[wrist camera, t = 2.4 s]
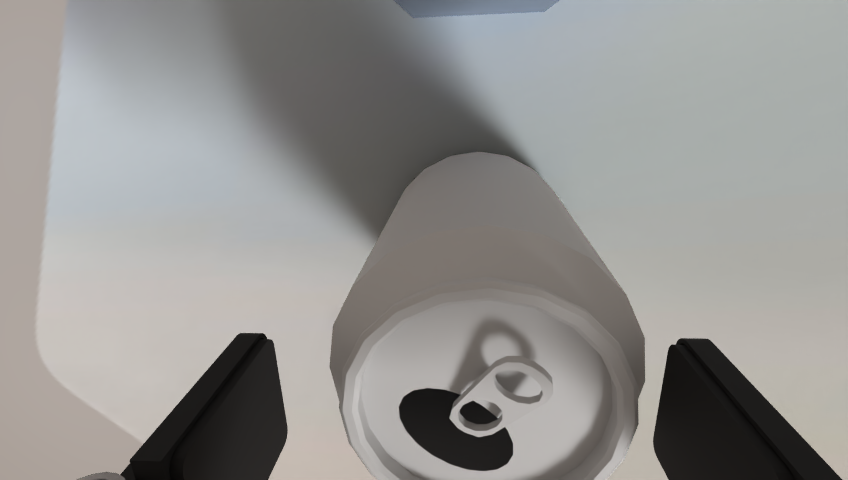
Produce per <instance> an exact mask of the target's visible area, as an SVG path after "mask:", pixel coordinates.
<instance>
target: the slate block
mask: <svg viewBox="0 0 848 480" xmlns="http://www.w3.org/2000/svg"><path fill="white" fill-rule="evenodd" d="M394 1H395V2H396V3H397V4H399V5H400V6H401V7H402V8H403V9H404V10H405V11H406V12H407V13H408V14H410V15H411V16H412V17H413V18H419V17H440V16H462V15H483V14H504V13H526V12H545V11H546V10H547V9H549V8H550V7H551V6H552V5H554V4H555V3H556V2H558V1H559V0H394Z"/></svg>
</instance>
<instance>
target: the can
mask: <svg viewBox="0 0 848 480" xmlns="http://www.w3.org/2000/svg"><path fill="white" fill-rule="evenodd" d="M330 369H331V373H332V376H333V380H334V384H335V387H336V391H337V394H338V398H339V401H340V402H339V409H340V413H341V416H342V420H343V424H344V427H345V431H346V434H347V438H348V441H349V444H350V445H351V447H352V448H353V449H354V451H355V452H356V454H357V455H358V457H359V458H360V459H361V461H362V462H363V464H364V465H365V467H366V468H367V470H368V471H369V472H370V474H371V475H373V476H374V477H375V478H376V479H378V480H606V479H607V478H608V477H609V476H610V475H611V474H612V473H613V472H614V471H615V469H616V468H617V467H618V466H619V465H620V464H621V463H622V462H623V461H624V459H625V456H626V454H627V451H628V449H629V446H630V444H631V441H632V439H633V436H634V434H635V431H636V429H637V426H638V398H639V395H640V393H641V390H642V388H643V385H644V382H645V338H644V335H643V333H642V331H641V328H640V326H639V324H638V321H637V319H636V316H635V314H634V312H633V309H632V307H631V305H630V302H629V300H628V298H627V295H626V294H625V292H624V291H623V289H622V288H621V287H620V285H619V284H618V282H617V281H616V279H615V278H614V277H613V275H612V274H611V272H610V271H609V269H608V268H607V267H606V265H605V264H604V262H603V261H602V259H601V258H600V257H599V255H598V254H597V252H596V251H595V249H594V248H593V247H592V245H591V244H590V242H589V241H588V239H587V238H586V237H585V235H584V234H583V232H582V231H581V229H580V228H579V226H578V225H577V224H576V222H575V221H574V219H573V218H572V216H571V215H570V214H569V212H568V211H567V209H566V208H565V206H564V205H563V204H562V202H561V201H560V199H559V198H558V196H557V195H556V194H555V192H554V191H553V189H552V188H551V187H550V186H549V185H548V184H547V183H546V182H545V181H544V180H543V179H542V178H541V177H540V176H539V175H538V174H537V173H536V171H535V170H534V169H532V168H530V167H528V166H526V165H524V164H522V163H520V162H518V161H516V160H515V159H513V158H511V157H509V156H504V155H498V154H492V153H486V152H472V153H466V154H459V155H453V156H449V157H447V158H445V159H443V160H441V161H439V162H437V163H435V164H433V165H431V166H429V167H427V168H425V169H424V170H423V171H422V172H421V173H420V174H419V175H418V176H417V177H416V178H415V179H414V180H413V181H412V182H411V183H410V184H409V185H408V186H407V187H406V188H405V190H404V192H403V194H402V196H401V197H400V199H399V201H398V203H397V205H396V207H395V208H394V210H393V212H392V214H391V216H390V218H389V220H388V221H387V223H386V225H385V227H384V229H383V231H382V233H381V234H380V236H379V238H378V240H377V242H376V244H375V245H374V247H373V249H372V251H371V253H370V255H369V257H368V258H367V260H366V262H365V264H364V266H363V268H362V270H361V271H360V273H359V275H358V277H357V279H356V281H355V282H354V284H353V286H352V288H351V290H350V292H349V294H348V296H347V298H346V300H345V302H344V304H343V307H342V309H341V311H340V313H339V315H338V317H337V319H336V321H335V323H334V325H333V333H332V345H331V357H330Z"/></svg>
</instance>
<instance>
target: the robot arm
mask: <svg viewBox="0 0 848 480" xmlns="http://www.w3.org/2000/svg"><path fill="white" fill-rule="evenodd" d="M286 439H287V422H286V416H285V410H284V403H283V397H282V391H281V385H280V379H279V373H278V367H277V360H276V354H275V348H274V343H273V341H272V340H271V339H267V337H266V336H265V334H263V333H240V334H238V335H237V336H236V337H235V338H234V340H233V341H232V342H231V343H230V344H229V345H228V347H227V348H226V349H225V350H224V351H223V352H222V354H221V355H220V356H219V357H218V358H217V359H216V361H215V362H214V363H213V364H212V365H211V366H210V368H209V369H208V370H207V371H206V372H205V373H204V374H203V376H202V377H201V378H200V379H199V380H198V381H197V383H196V384H195V385H194V386H193V387H192V388H191V390H190V391H189V392H188V393H187V394H186V395H185V397H184V398H183V399H182V400H181V401H180V402H179V404H178V405H177V406H176V407H175V408H174V409H173V410H172V412H171V413H170V414H169V415H168V416H167V417H166V419H165V420H164V421H163V422H162V423H161V424H160V426H159V427H158V428H157V429H156V430H155V431H154V433H153V434H152V435H151V436H150V437H149V438H148V440H147V441H146V442H145V443H144V444H143V445H142V446H141V448H140V449H139V450H138V451H137V452H136V454H135V455H134V456H133V457H132V458H131V459H130V464H129V465H128V466H127V468H126V469H125V470H124V471H123V472H122V473H121V475H119V474H117V473H110V472H103V473H96V474H91V475H88V476H85V477H82V478H80V479H77V480H268V478H269V476H270V474H271V472H272V470H273V468H274V466H275V464H276V462H277V460H278V457H279V455H280V453H281V451H282V449H283V447H284V445H285V442H286ZM653 444H654V450H655V453H656V456H657V458H658V460H659V462H660V464H661V466H662V468H663V469H664V471H665V473H666V475H667V477H668V479H669V480H842V479H841V478H840V477H839V476H838V475H837V474H836V473H835V472H834V470H833V469H832V468H831V467H830V466H829V465H828V464H827V463H826V462H825V461H824V460H823V459H822V458H821V457H820V456H819V455H818V454H817V452H816V451H815V450H814V449H813V448H812V447H811V446H810V445H809V444H808V443H807V442H806V441H805V440H804V439H803V438H802V437H801V436H800V435H799V433H798V432H797V431H796V430H795V429H794V428H793V427H792V426H791V425H790V424H789V423H788V422H787V421H786V420H785V419H784V418H783V417H782V416H781V414H780V413H779V412H778V411H777V410H776V409H775V408H774V407H773V406H772V405H771V404H770V403H769V402H768V401H767V400H766V399H765V398H764V397H763V395H762V394H761V393H760V392H759V391H758V390H757V389H756V388H755V387H754V386H753V385H752V384H751V383H750V382H749V381H748V380H747V379H746V377H745V376H744V375H743V374H742V373H741V372H740V371H739V370H738V369H737V368H736V367H735V366H734V365H733V364H732V363H731V362H730V361H729V360H728V358H727V357H726V356H725V355H724V354H723V353H722V352H721V351H720V350H719V349H718V348H717V347H716V346H715V345H714V344H713V343H712V342H711V341H710V340H709V339H685V338H681V339H679V340H678V341H677V343H676V345H671V346H670V347H669V350H668V355H667V361H666V367H665V373H664V378H663V384H662V390H661V396H660V402H659V408H658V414H657V420H656V426H655V431H654V438H653Z"/></svg>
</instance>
